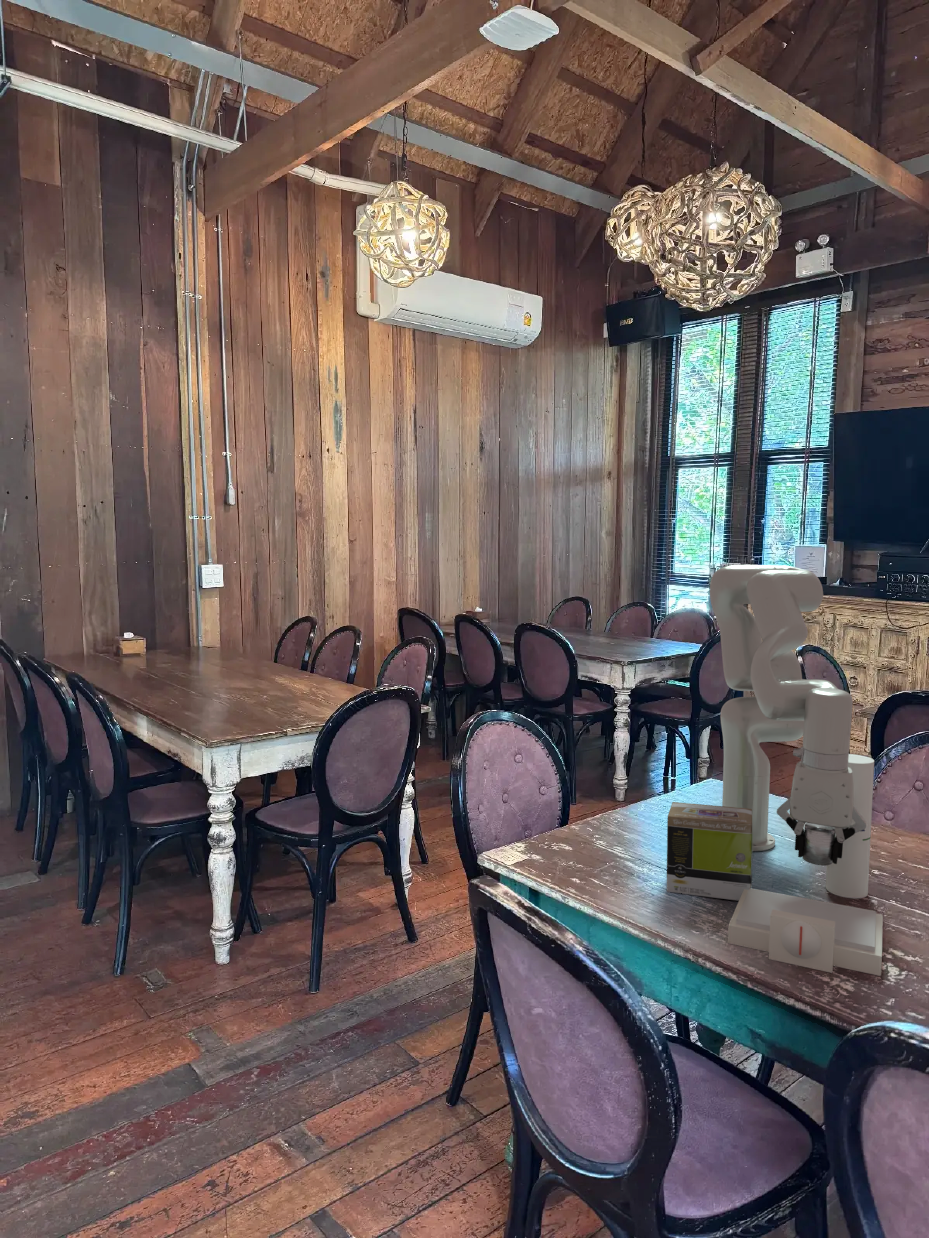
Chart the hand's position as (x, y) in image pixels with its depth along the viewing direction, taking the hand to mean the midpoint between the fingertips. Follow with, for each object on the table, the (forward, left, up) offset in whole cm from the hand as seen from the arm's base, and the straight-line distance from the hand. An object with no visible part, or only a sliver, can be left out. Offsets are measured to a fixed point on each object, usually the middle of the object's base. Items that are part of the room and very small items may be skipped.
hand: (817, 856), depth 148 cm
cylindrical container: (+5, +9, -9) cm, 13 cm away
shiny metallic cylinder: (0, 0, -1) cm, 1 cm away
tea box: (-18, -2, -9) cm, 21 cm away
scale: (0, -17, -9) cm, 19 cm away
